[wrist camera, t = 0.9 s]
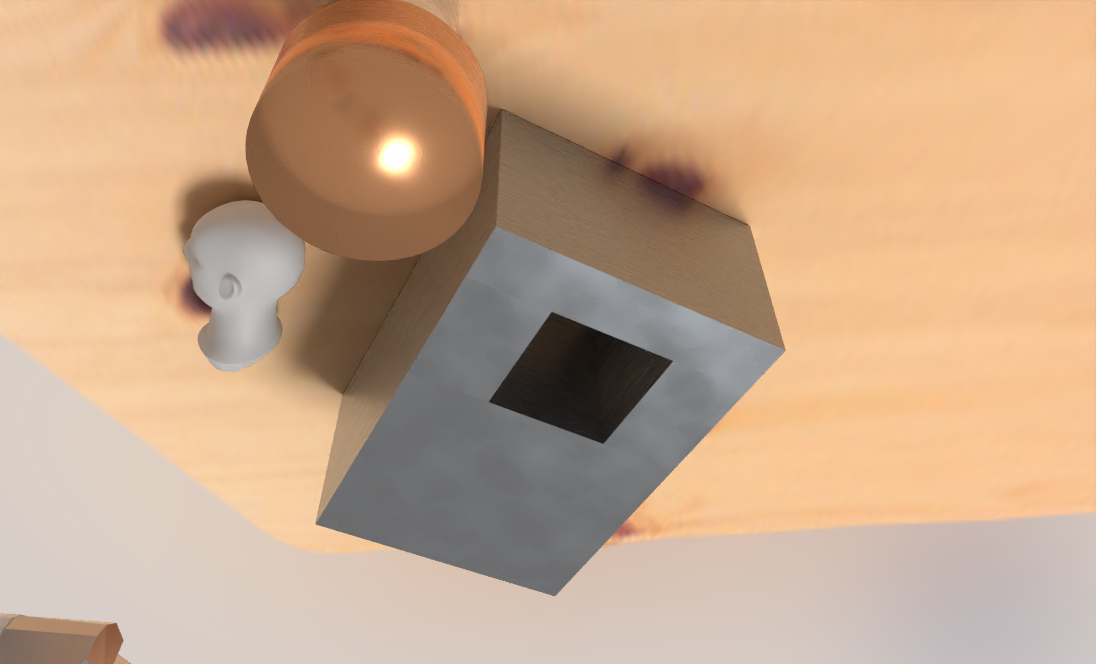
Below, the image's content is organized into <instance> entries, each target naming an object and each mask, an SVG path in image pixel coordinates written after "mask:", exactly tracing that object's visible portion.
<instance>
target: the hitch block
mask: <svg viewBox="0 0 1096 664" xmlns="http://www.w3.org/2000/svg"><path fill="white" fill-rule="evenodd" d="M784 351H785V347H784V344H783V340H782V337H781V333H780V330H779V326H778V323H777V319H776V316H775V312H774V309H773V305H772V302H771V298H770V295H769V291H768V288H767V284H766V281H765V277H764V274H763V270H762V267H761V263H760V260H759V256H758V253H757V249H756V246H755V242H754V239H753V235H752V232H751V228H750V226H748V225H746V224H744V223H742V222H739V221H737V220H735V219H733V218H731V217H729V216H727V215H725V214H722V213H720V212H718V211H716V210H714V209H712V208H710V207H708V206H706V205H703V204H701V203H699V202H697V201H695V200H693V199H691V198H689V197H686V196H684V195H682V194H680V193H678V192H676V191H674V190H672V189H670V188H667V187H665V186H663V185H661V184H659V183H657V182H655V181H653V180H650V179H648V178H646V177H644V176H642V175H640V174H638V173H636V172H634V171H631V170H629V169H627V168H625V167H623V166H621V165H619V164H617V163H614V162H612V161H610V160H608V159H606V158H604V157H602V156H600V155H598V154H595V153H593V152H591V151H589V150H587V149H585V148H583V147H581V146H578V145H576V144H574V143H572V142H570V141H568V140H566V139H564V138H562V137H559V136H557V135H555V134H553V133H551V132H549V131H547V130H545V129H543V128H540V127H538V126H536V125H534V124H532V123H530V122H528V121H526V120H523V119H521V118H519V117H517V116H515V115H513V114H511V113H509V112H507V111H504V110H502V111H501V113H500V115H499V117H498V118H497V120H496V122H495V124H494V126H493V127H492V129H491V131H490V133H489V135H488V136H487V138H486V140H485V147H484V160H483V173H482V182H481V189H480V192H479V196H478V199H477V202H476V204H475V206H474V208H473V210H472V212H471V214H470V216H469V217H468V218H467V220H466V221H465V223H464V224H463V225H462V226H461V227H460V228H459V230H458V231H457V232H456V233H455V234H453V235H452V236H451V237H450V238H448V239H447V240H446V241H445V242H443V243H441V244H440V245H438V246H436V247H435V248H433V249H431V250H428V251H426V252H424V253H422V255H421V256H420V258H419V260H418V262H417V263H416V265H415V267H414V269H413V271H412V272H411V274H410V276H409V278H408V280H407V281H406V283H405V285H404V287H403V289H402V290H401V292H400V294H399V296H398V297H397V299H396V301H395V303H394V305H393V306H392V308H391V310H390V312H389V314H388V315H387V317H386V319H385V321H384V323H383V324H382V326H381V328H380V330H379V331H378V333H377V335H376V337H375V339H374V340H373V342H372V344H371V346H370V348H369V349H368V351H367V353H366V355H365V357H364V358H363V360H362V362H361V364H360V365H359V367H358V369H357V371H356V373H355V374H354V376H353V378H352V380H351V382H350V383H349V385H348V387H347V389H346V391H345V392H344V394H343V396H342V401H341V406H340V411H339V415H338V420H337V425H336V430H335V434H334V439H333V444H332V448H331V453H330V458H329V463H328V467H327V472H326V477H325V481H324V486H323V491H322V496H321V500H320V505H319V510H318V514H317V519H316V525H320V526H323V527H326V528H330V529H333V530H336V531H340V532H343V533H346V534H350V535H353V536H356V537H360V538H363V539H366V540H370V541H373V542H376V543H380V544H383V545H386V546H389V547H393V548H396V549H399V550H403V551H406V552H410V553H413V554H416V555H419V556H423V557H426V558H430V559H433V560H436V561H439V562H443V563H446V564H450V565H453V566H456V567H460V568H463V569H466V570H470V571H473V572H476V573H479V574H483V575H486V576H489V577H493V578H496V579H499V580H503V581H506V582H509V583H513V584H516V585H519V586H523V587H526V588H529V589H533V590H536V591H539V592H543V593H546V594H549V595H552V596H556V595H557V594H558V592H559V591H560V590H561V589H562V588H563V587H564V586H565V585H566V584H567V583H568V582H569V581H570V580H571V579H572V577H574V575H575V574H576V573H577V572H578V571H579V570H580V569H581V568H582V567H583V566H584V565H585V564H586V563H587V561H588V560H589V559H590V558H591V557H592V556H593V555H594V554H595V553H596V552H597V551H598V550H599V549H600V548H601V547H602V546H603V545H604V543H605V542H606V541H607V540H608V539H609V538H610V537H611V536H612V535H613V534H614V533H615V532H616V531H617V530H618V529H619V527H620V526H621V525H622V524H623V523H624V522H625V521H626V520H627V519H628V518H629V517H630V516H631V515H632V514H633V513H634V511H635V510H636V509H637V508H638V507H639V506H640V505H641V504H642V503H643V502H644V501H645V500H646V499H647V498H648V497H649V495H650V494H651V493H652V492H653V491H654V490H655V489H656V488H657V487H658V486H659V485H660V484H661V483H662V482H663V481H664V479H665V478H666V477H667V476H668V475H669V474H670V473H671V472H672V471H673V470H674V469H675V468H676V467H677V466H678V465H679V463H680V462H681V461H682V460H683V459H684V458H685V457H686V456H687V455H688V454H689V453H690V452H691V451H692V450H693V449H694V447H695V446H696V445H697V444H698V443H699V442H700V441H701V440H702V439H703V438H704V437H705V436H706V435H707V434H708V433H709V431H710V430H711V429H712V428H713V427H714V426H715V425H716V424H717V423H718V422H719V421H720V420H721V419H722V418H723V417H724V415H725V414H726V413H727V412H728V411H729V410H730V409H731V408H732V407H733V406H734V405H735V404H736V403H737V402H738V401H739V399H740V398H741V397H742V396H743V395H744V394H745V393H746V392H747V391H748V390H749V389H750V388H751V387H752V386H753V385H754V383H755V382H756V381H757V380H758V379H759V378H760V377H761V376H762V375H763V374H764V373H765V372H766V371H767V370H768V369H769V367H770V366H771V365H772V364H773V363H774V362H775V361H776V360H777V359H778V358H779V357H780V356H781V355H782V354H783V353H784Z"/></svg>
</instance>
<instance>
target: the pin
mask: <svg viewBox="0 0 1096 664" xmlns="http://www.w3.org/2000/svg"><path fill="white" fill-rule="evenodd" d="M458 20H459V3H458V0H340V1H336V2H334V3H331V4H328V5H326V6H323V7H322V8H320V9H318V10H316V11H315V12H313V13H311V14H310V15H309V16H308V17H306V18H305V19H304V20H302V21H301V22H300V23H299V24H298V26H297V27H296V28H295V29H294V30H293V31H292V32H291V34H290V35H289V37H288V38H287V40H286V41H285V43H284V45H283V47H282V50H281V52H280V54H279V56H278V58H277V61H276V63H275V65H274V67H273V70H272V72H271V74H270V76H269V78H268V81H267V83H266V85H265V87H264V90H263V92H262V94H261V96H260V99H259V101H258V103H257V105H256V108H255V110H254V112H253V114H252V116H251V119H250V122H249V126H248V129H247V136H246V144H245V145H246V160H247V165H248V170H249V174H250V177H251V179H252V182H253V185H254V187H255V189H256V191H257V193H258V195H259V197H260V198H261V200H262V201H263V203H264V204H265V206H266V207H267V208H268V210H269V211H270V212H271V213H272V214H273V215H274V216H275V218H276V219H277V220H278V221H279V222H280V223H282V224H283V225H284V226H285V227H286V228H287V229H288V230H290V231H291V232H292V233H294V234H295V235H296V236H298V237H299V238H301V239H303V240H304V241H306V242H308V243H309V244H311V245H313V246H315V247H317V248H320V249H322V250H324V251H327V252H330V253H332V254H335V255H338V256H342V257H347V258H351V259H357V260H365V261H389V260H398V259H403V258H408V257H412V256H415V255H418V254H421V253H424V252H426V251H428V250H431V249H433V248H435V247H436V246H438V245H440V244H441V243H443V242H445V241H446V240H447V239H448V238H450V237H451V236H452V235H453V234H455V233H456V232H457V231H458V230H459V228H460V227H461V226H462V225H463V224H464V223H465V221H466V220H467V218H468V217H469V216H470V214H471V212H472V210H473V208H474V206H475V204H476V202H477V199H478V196H479V192H480V189H481V182H482V173H483V160H484V147H485V134H486V121H487V91H486V84H485V80H484V77H483V74H482V70H481V68H480V66H479V64H478V62H477V59H476V58H475V56H474V54H473V53H472V51H471V50H470V48H469V46H468V45H467V44H466V43H465V41H464V40H463V39H462V38H461V37H460V35H459V34H457V27H458Z"/></svg>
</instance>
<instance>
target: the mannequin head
mask: <svg viewBox="0 0 1096 664" xmlns="http://www.w3.org/2000/svg"><path fill="white" fill-rule="evenodd" d="M183 252H184V255H185V257H186V259H187V261H188V263H189V271H190V274H191V277H192V281H193V289H194V291H195V292H196V294H197V295H198V296H199V297H200V298H201V299H202V300H203V301H204V302H205V303H206V304H207V305H209V306H210V307H212V311H211V316H210V320H209V323H208V324H206V325H205V326H204V327H203V328H202V329H201V331H200V332H199V335H198V344H199V347H200V349H201V351H202V352H203V353H204V355H205V356H206V357H207V359H208V360H209V361H210V363H211V364H212V365H213V366H214V367H215V368H217V369H219V370H221V371H225V372H234V371H239V370H242V369H244V368H246V367H248V366H250V365H252V364H254V363H256V362H257V361H259V360H260V359H261V358H262V357H264V356H265V355H266V354H267V353H269V352H270V351H271V350H272V349H273V348H274V347H275V346H276V345H277V344H278V342H279V340H280V338H281V335H282V323H281V321H280V319H279V318H278V317H277V315H276V309H277V302H278V299H279V298H280V297H282V296H283V295H285V294H286V293H287V292H288V291H289V290H290V289H291V288H292V287H293V286H294V285H295V284H296V282H297V281H298V279H299V277H300V275H301V273H302V271H303V267H304V263H305V244H304V240H303V239H301V238H299V237H298V236H296V235H295V234H294V233H292V232H291V231H290V230H288V229H287V228H286V227H285V226H284V225H283V224H282V223H280V222H279V221H278V220H277V219H276V218H275V216H274V215H273V214H272V213H271V212H270V211H269V210H268V208H267V207H266V206H265V204H264V203H262V202H258V201H250V200H241V201H233V202H229V203H226V204H223V205H221V206H219V207H216V208H214V209H213V210H211V211H209V212H207V213H206V214H205V215H203V216H202V217H201V218H200V219H199V220H198V221H197V223H196V224H195V226H194V227H193V229H192V232H191V237H190V238H189V240H188V241H187V242H186V243H185V245H184V248H183Z"/></svg>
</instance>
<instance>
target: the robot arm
mask: <svg viewBox="0 0 1096 664" xmlns="http://www.w3.org/2000/svg"><path fill="white" fill-rule="evenodd" d="M122 643H123V638H122V635H121V633H120V631H119V628H118V626H117V623H111V622H110V623H109V622H97V621H84V620H70V619H56V618H43V617H30V616H24V615H16V614H0V664H131V663H130V662H128V661H127V660H125V659H124V658H123V657H121V656H120V655H119V654H118V652H119V650H120V647H121V645H122Z"/></svg>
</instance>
